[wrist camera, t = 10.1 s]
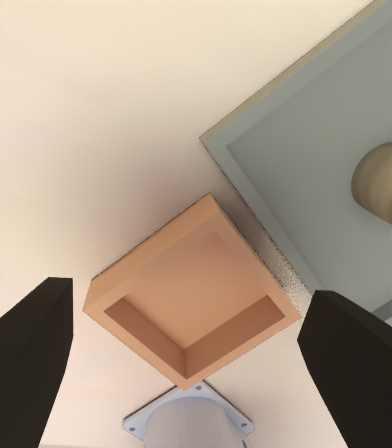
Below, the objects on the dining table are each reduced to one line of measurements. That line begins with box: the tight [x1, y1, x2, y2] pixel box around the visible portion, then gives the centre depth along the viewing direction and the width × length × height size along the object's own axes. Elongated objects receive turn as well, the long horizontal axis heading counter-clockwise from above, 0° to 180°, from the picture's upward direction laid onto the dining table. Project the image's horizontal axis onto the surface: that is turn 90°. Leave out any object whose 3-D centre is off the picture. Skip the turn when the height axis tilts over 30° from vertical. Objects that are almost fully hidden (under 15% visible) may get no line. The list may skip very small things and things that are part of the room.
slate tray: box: [199, 0, 392, 326], centre depth 19 cm, size 20×14×2 cm
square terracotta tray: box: [82, 192, 302, 391], centre depth 20 cm, size 10×10×3 cm
